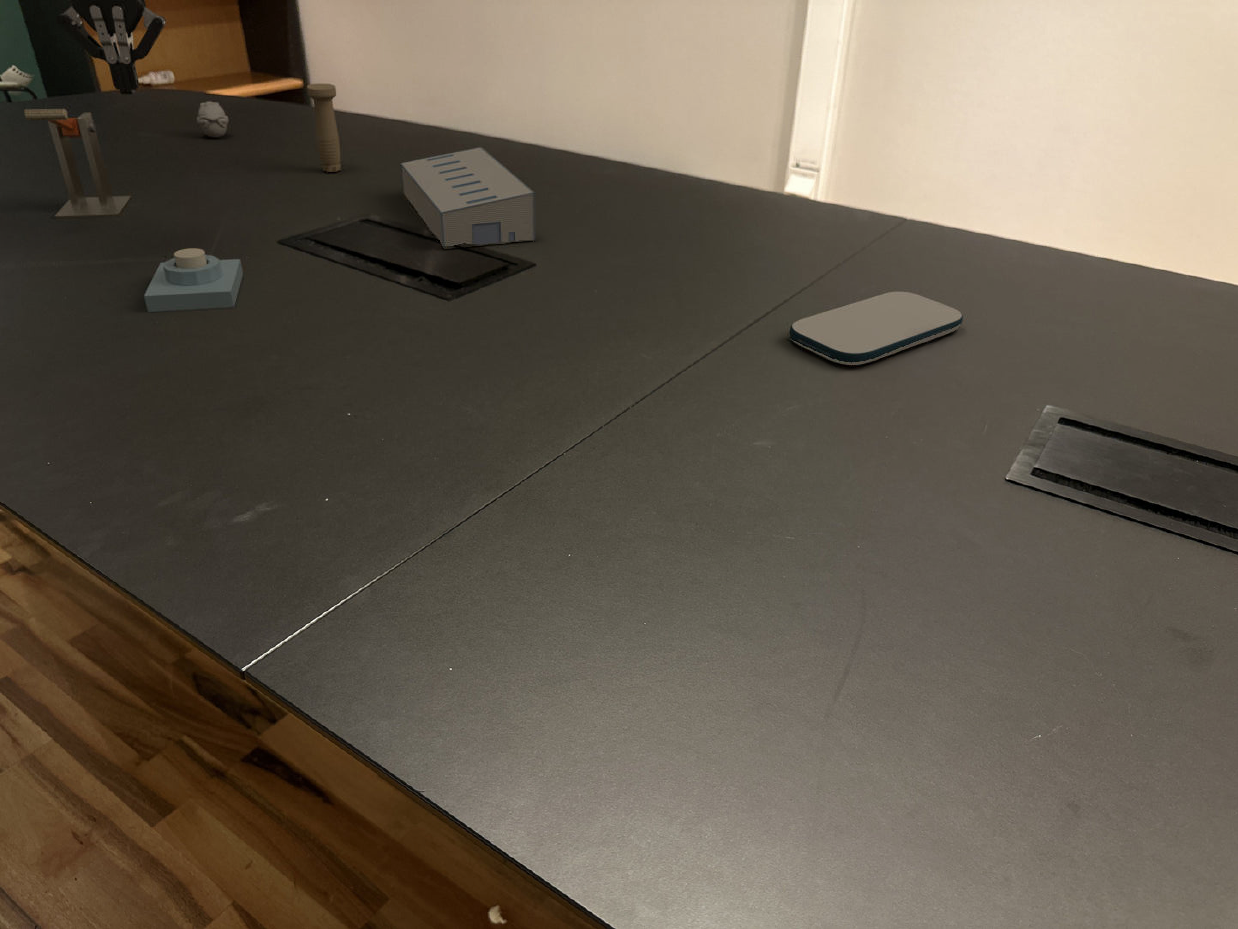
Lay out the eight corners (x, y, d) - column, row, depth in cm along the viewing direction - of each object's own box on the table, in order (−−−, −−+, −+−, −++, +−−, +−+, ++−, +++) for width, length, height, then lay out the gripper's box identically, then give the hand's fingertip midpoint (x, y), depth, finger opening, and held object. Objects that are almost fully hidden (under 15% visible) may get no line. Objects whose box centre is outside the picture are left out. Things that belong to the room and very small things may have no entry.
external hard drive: (898, 301, 123) (900, 287, 122) (970, 329, 115) (974, 315, 114) (777, 339, 111) (779, 324, 110) (849, 374, 103) (852, 359, 102)
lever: (65, 122, 126) (62, 104, 126) (26, 122, 125) (22, 104, 125) (94, 137, 139) (92, 121, 138) (59, 138, 138) (56, 121, 137)
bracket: (120, 221, 141) (94, 122, 133) (56, 223, 138) (26, 122, 131) (132, 203, 149) (109, 108, 141) (72, 205, 147) (45, 109, 139)
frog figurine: (230, 132, 193) (223, 98, 190) (232, 140, 188) (226, 104, 184) (199, 134, 191) (192, 99, 187) (201, 141, 186) (194, 106, 182)
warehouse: (403, 196, 158) (399, 151, 153) (483, 190, 162) (481, 146, 158) (443, 250, 134) (439, 199, 130) (535, 241, 139) (534, 192, 135)
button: (205, 270, 114) (202, 256, 113) (174, 271, 113) (171, 258, 112) (208, 260, 117) (206, 247, 116) (179, 261, 116) (176, 248, 115)
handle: (320, 176, 166) (308, 90, 159) (317, 167, 172) (306, 83, 164) (347, 175, 168) (336, 89, 160) (343, 166, 173) (333, 83, 165)
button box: (234, 307, 113) (227, 277, 111) (148, 312, 111) (140, 281, 109) (243, 274, 123) (237, 245, 121) (164, 278, 121) (157, 249, 119)
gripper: (25, -58, 106) (66, 98, 116) (147, -53, 109) (177, 99, 118) (44, -61, 112) (81, 87, 122) (159, -56, 115) (186, 88, 125)
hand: (128, 93), depth 120 cm, fingers closed
